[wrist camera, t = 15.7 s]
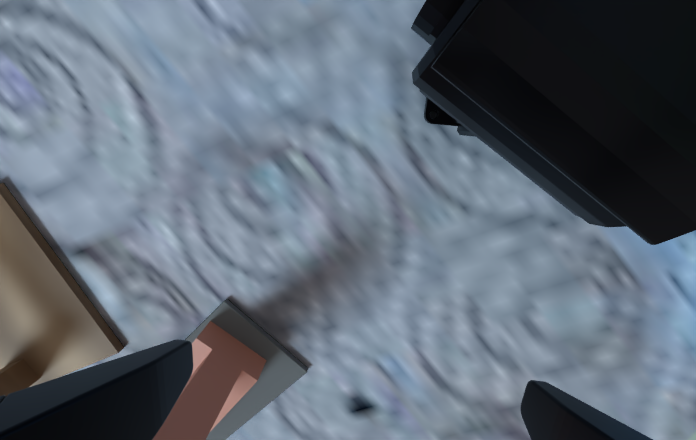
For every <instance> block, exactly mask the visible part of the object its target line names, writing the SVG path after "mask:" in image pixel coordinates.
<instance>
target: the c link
mask: <svg viewBox="0 0 696 440" xmlns="http://www.w3.org/2000/svg"><path fill="white" fill-rule="evenodd" d="M192 350H193V372H192V375H191V377H190V379H189V381H188V382H187V384H186V386H185V388H184V389H183V391H182V393H181V394H180V396H179V398H178V400H177V401H176V403H175V405H174V407H173V408H172V410H171V412H170V413H169V415H168V417H167V419H166V420H165V422H164V423H163V425H162V427H161V428H160V429H159V431H158V432H157V434H156V435H155V437H154V438H153V439H152V440H206V438H207V436H208V434H209V433H210V431H211V430H212V429H213V428H214V427H215V426H216V425H217V424H218V423H219V422H220V421H221V420H222V419H223V417H224V416H225V415H226V414H227V413H228V412H229V411H230V410H231V409H232V408H233V407H234V406H235V405H236V403H237V402H238V401H239V400H240V399H241V398H242V397H243V396H244V395H245V394H246V393H247V392H248V391H249V389H250V388H251V387H252V386H253V385H254V384H255V383H256V382H257V381H258V379H259V376H260V374H261V372H262V370H263V367H264V365H265V363H266V360H265V359H264V358H263V357H261V356H260V355H258V354H257V353H255V352H254V351H253V350H251V349H250V348H248V347H247V346H246V345H244V344H243V343H241V342H240V341H238V340H237V339H236V338H234V337H233V336H231V335H230V334H228V333H227V332H226V331H224V330H223V329H221V328H220V327H219V326H217V325H216V324H214V323H213V322H211V321H210V322H209V323H208V324H207V326H206V327H205V328H204V329H203V331H202V332H201V333H200V334H199V336H198V337H197V338H196V339H195V340H194V342H193V343H192Z"/></svg>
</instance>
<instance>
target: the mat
mask: <svg viewBox="0 0 696 440" xmlns="http://www.w3.org/2000/svg"><path fill="white" fill-rule="evenodd" d="M210 321H211V322H213V323H214V324H216V325H217V326H219V327H220V328H221V329H223V330H224V331H226V332H227V333H228V334H230V335H231V336H233V337H234V338H236V339H237V340H238V341H240V342H241V343H243V344H244V345H246V346H247V347H248V348H250V349H251V350H253V351H254V352H255V353H257V354H258V355H260V356H261V357H263V358H264V359H265V360H266V363H265V365H264V367H263V370H262V372H261V374H260V376H259V379H258V381H257V382H256V383H255V384H254V385H253V386H252V387H251V388H250V389H249V391H248V392H247V393H246V394H245V395H244V396H243V397H242V398H241V399H240V400H239V401H238V402H237V403H236V405H235V406H234V407H233V408H232V409H231V410H230V411H229V412H228V413H227V414H226V415H225V416H224V417H223V419H222V420H221V421H220V422H219V423H218V424H217V425H216V426H215V427H214V428H213V429H212V430H211V431H210V433H209V434H208V436H207V438H206V440H225V439H227V438H228V437H229V436H230V435H231V434H233V433H234V432H235V431H236V430H238V429H239V428H240V427H241V426H242V425H244V424H245V423H246V422H247V421H248V420H250V419H251V418H252V417H253V416H254V415H256V414H257V413H258V412H259V411H261V410H262V409H263V408H264V407H265V406H267V405H268V404H269V403H270V402H271V401H273V400H274V399H275V398H276V397H278V396H279V395H280V394H281V393H282V392H284V391H285V390H286V389H287V388H288V387H290V386H291V385H292V384H293V383H295V382H296V381H297V380H298V379H299V378H301V377H302V376H303V375H304V374H305V373H307V370H308V368H307V367H306V366H305V365H303V364H302V363H301V362H300V361H299V360H298V359H296V358H295V357H294V356H293V355H292V354H291V353H289V352H288V351H287V350H286V349H285V348H284V347H282V346H281V345H280V344H279V343H278V342H277V341H275V340H274V339H273V338H272V337H271V336H270V335H268V334H267V333H266V332H265V331H264V330H263V329H261V328H260V327H259V326H258V325H257V324H256V323H254V322H253V321H252V320H251V319H250V318H249V317H247V316H246V315H245V314H244V313H243V312H242V311H240V310H239V309H238V308H237V307H236V306H235V305H233V304H232V303H231V302H230V301H229V300H227V299H226V300H225V301H224V302H223V303H222V304H221V305H220V306H219V307H218V308H217V309H216V310H215V311H214V312H213V313H212V314H211V315H210V316H209V317H208V318H207V319H206V320H205V321H204V322H203V323H202V324H201V325H200V326H199V327H198V328H197V329H196V330H195V331H194V332H193V333H192V334H191V335H189V336H188V337H187V338H186V339H185V340H186V341H190V342H191V343H193V342H194V340H195V339H196V338H197V337H198V336H199V334H200V333H201V332H202V331H203V329H204V328H205V327H206V326H207V324H208V323H209V322H210Z"/></svg>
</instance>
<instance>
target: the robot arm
mask: <svg viewBox="0 0 696 440" xmlns="http://www.w3.org/2000/svg"><path fill="white" fill-rule="evenodd" d="M411 29H412V30H413V31H415V32H416V33H417V34H418V35H419V36H421V37H422V38H423V39H424V40H426V41H427V42H428V43H429V44H430V45H431V47H430V48H429V50H428V51H427V52H426V54H425V55H424V56H423V58H422V59H421V61H420V62H419V63H418V65H417V66H416V68H415V69H414V70H413V72H412V78H413V84H414V85H415V86H417V87H418V88H419V89H420V92H421V93H422V94H423V95H425V96H426V104H425V111H424V118H425V120H426V121H427V122H428V123H431V124H440V125H451V126H458V128H457V131H458V133H459V134H460V135H466V136H476V137H477V138H479V139H480V140H481V141H483V142H484V143H485V144H486V145H488V146H489V147H490V148H491V149H493V150H494V151H495V152H496V153H498V154H499V155H500V156H501V157H503V158H504V159H505V160H506V161H508V162H509V163H510V164H511V165H513V166H514V167H515V168H516V169H518V170H519V171H520V172H522V173H523V174H524V175H525V176H527V177H528V178H529V179H530V180H532V181H533V182H534V183H535V184H537V185H538V186H539V187H540V188H542V189H543V190H544V191H545V192H547V193H548V194H549V195H550V196H552V197H553V198H554V199H555V200H557V201H558V202H559V203H560V204H562V205H563V206H564V207H566V208H567V209H568V210H569V211H571V212H572V213H573V214H574V215H576V216H579V217H581V218H582V219H584V220H585V221H586V222H587V223H589V224H593V225H599V226H604V227H622V226H627V227H629V228H630V229H631V230H632V231H634V232H635V233H636V234H637V235H638V236H640V237H641V238H642V239H643V240H645V241H646V242H647V243H649V244H651V245H656V244H659V243H662V242H665V241H668V240H670V239H673V238H676V237H678V236H681V235H684V234H687V233H689V232H692V231H695V230H696V0H426V2H425V4H424V5H423V7H422V9H421V10H420V12H419V14H418V16H417V17H416V19H415V21H414V23H413V25H412V27H411ZM432 110H435V111H436V112H437V117H436V118H435V119H431V118H430V112H431V111H432ZM192 372H193V350H192V343H191V342H190V341H186V340H173V341H170V342H167V343H164V344H160V345H157V346H154V347H151V348H148V349H145V350H142V351H139V352H136V353H133V354H130V355H127V356H124V357H120V358H117V359H114V360H111V361H108V362H105V363H102V364H99V365H96V366H93V367H90V368H87V369H84V370H80V371H77V372H74V373H71V374H68V375H65V376H62V377H59V378H56V379H53V380H50V381H47V382H44V383H41V384H37V385H34V386H31V387H28V388H25V389H22V390H19V391H16V392H13V393H10V394H8V395H7V396H5V395H2V396H0V440H152V439H153V438H154V437H155V435H156V434H157V432H158V431H159V429H160V428H161V427H162V425H163V423H164V422H165V420H166V419H167V417H168V415H169V413H170V412H171V410H172V408H173V407H174V405H175V403H176V401H177V400H178V398H179V396H180V394H181V393H182V391H183V389H184V388H185V386H186V384H187V382H188V381H189V379H190V377H191V375H192ZM521 414H522V418H523V420H524V423H525V425H526V428H527V430H528V433H529V435H530V438H531V440H653V439H651V438H649V437H647V436H645V435H643V434H641V433H640V432H638V431H636V430H634V429H632V428H630V427H628V426H627V425H625V424H623V423H621V422H619V421H617V420H616V419H614V418H612V417H610V416H608V415H606V414H604V413H603V412H601V411H599V410H597V409H595V408H593V407H591V406H590V405H588V404H586V403H584V402H582V401H580V400H578V399H577V398H575V397H573V396H571V395H569V394H567V393H565V392H564V391H562V390H560V389H558V388H556V387H554V386H552V385H551V384H549V383H547V382H543V381H535V380H531V381H529V382H528V383H527V386H526V389H525V393H524V396H523V399H522V403H521Z"/></svg>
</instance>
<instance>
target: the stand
mask: <svg viewBox="0 0 696 440" xmlns="http://www.w3.org/2000/svg"><path fill="white" fill-rule="evenodd" d="M123 348H124V347H123V346H122V344H121V343H120V341H119V340H118V339H117V337H116V336H115V335H114V333H113V332H112V331H111V329H110V328H109V326H108V325H107V324H106V322H105V321H104V320H103V318H102V317H101V316H100V314H99V313H98V311H97V310H96V309H95V307H94V306H93V305H92V303H91V302H90V301H89V299H88V298H87V296H86V295H85V294H84V292H83V291H82V290H81V288H80V287H79V286H78V284H77V283H76V281H75V280H74V279H73V277H72V276H71V275H70V273H69V272H68V271H67V269H66V268H65V267H64V265H63V264H62V262H61V261H60V260H59V258H58V257H57V256H56V254H55V253H54V252H53V250H52V249H51V247H50V246H49V245H48V243H47V242H46V241H45V239H44V238H43V237H42V235H41V234H40V232H39V231H38V230H37V228H36V227H35V226H34V224H33V223H32V222H31V220H30V219H29V217H28V216H27V215H26V213H25V212H24V211H23V209H22V208H21V207H20V205H19V204H18V202H17V201H16V200H15V198H14V197H13V196H12V194H11V193H10V192H9V190H8V189H7V187H6V186H5V185H4V183H0V396H2V395H5V396H7V395H8V394H10V393H13V392H16V391H19V390H22V389H25V388H28V387H31V386H34V385H37V384H41V383H44V382H47V381H50V380H53V379H56V378H58V377H61V376H63V375H66V374H68V373H71V372H73V371H75V370H78V369H80V368H83V367H85V366H88V365H90V364H92V363H95V362H97V361H100V360H102V359H105V358H107V357H110V356H112V355H114V354H117V353H119V352H120V351H121V350H122V349H123Z"/></svg>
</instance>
